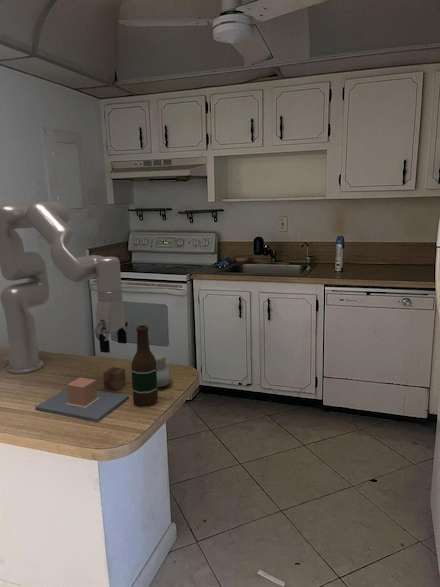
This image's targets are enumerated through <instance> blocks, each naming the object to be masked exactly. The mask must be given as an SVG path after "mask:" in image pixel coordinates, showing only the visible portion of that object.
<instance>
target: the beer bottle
mask: <svg viewBox="0 0 440 587" xmlns="http://www.w3.org/2000/svg"><path fill="white" fill-rule="evenodd" d="M135 331H136V333H137V334H136V351H135V354H134V356H133V358H132V362H131V386H132V400H133V401H132V402H133V404H134V405H136V406H138V407H140V408H141V407H144V408H145V407H151V406H153V405H155V404H157V402H158V388H157V369H156V360H155V357H154V355H153V354H154V353H152V352H151V348H150V342H149V341H150V340H149V326H147V325H138V326H136V329H135Z"/></svg>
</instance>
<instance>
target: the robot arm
mask: <svg viewBox="0 0 440 587" xmlns="http://www.w3.org/2000/svg"><path fill="white" fill-rule="evenodd" d="M69 219H70V212H69V210H68V208H67V207H66V205H64V204H63V203H61V202H59V201H37V202H33V203H7V204H2V205H0V273H1V275H2V277H3V279H5V280H6V281H11V282H12V281H21V280H26V279H27V281H25V282H20V283H14V284H11V285H8V286H6V287H4V288H3V289H2V290H1V293H0V303H1V307H2V309H3V310H2V311H3V312H4V317H5V324H6V331H7V341H8V349H9V350H8V351H9V353H7V354H6V356H5V357H4V358H3V359H4V361H6V362H8V364H7V366H6V371H7V372H8V373H11V374H26V373H32V372H35V371H37V370H40V369H41V368H43V367H44V361H43V360H42V359H39V352H38V350H39V349H38V342H37V341H38V340H37V330H36V321H35V318H34V316H33V314H32V313H31V311H30V310H29V309H31V308H34V307H39V306H41V305H44V304H46V303H47V302H48V301H49V299H50V285H49V277H48V272H47V269H48V268H47V264H46V261H45V259H44V258H43V256H42V255H41V254H40V253H38V252H36V251H25V246H24V241H23V238H22V237H21V236H20V234H19V233H18V232H17V229H33V228H34V229H35V231H36V232H38V233H39V234H40V236H42V238H43V239H44V240H45V241H46V242H47V243H48V244H49V245H50V256H51V260H52V263H53V265H54V266H55V267H56V269H57V270H58V271H59V272H60V274H62V275H63V276H64V277H65V278H66V279H67V280H68V281H71V282H74V283H81V282H84V281H89V280H94V279H95V281H96V290H97V301H98V302H97V303H96V313H95V318H96V319H95V320H96V326H95V328H94V330H93V332H94V333H95V337H96V338H97V341H99V349H100V350H99V352H100V353H106V354H108V353H111V352H110V349H111V348H110V340H109V337H110V334H111V333H114V332H116V333H117V334H116V335H117V343H118V344H124V345H125V344H127V343H128V341H127V340H128V338H127V337H128V336H127V331H128V328H127V327H128V325H129V324H128V322H129V316H128V315H126V312H125V305H124V301H123V289H122V276H121V274H122V273H121V263H120V262H121V261H120V259H119V258H118V257H117V256H103V255H97V254H91V255H84V256H83V255H82V256H78V257H75V256H74V255H73V254H72V253H71V252H70V251H69V250H68V249H67V247H66V246H67V245H68V244H69V243H70V242H71V240H72V238H73V237H74V231H73V229H72V227H70V226H69V225H68V224H67V223H68V222H69ZM104 334H105V335H104Z"/></svg>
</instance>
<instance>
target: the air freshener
mask: <svg viewBox="0 0 440 587" xmlns="http://www.w3.org/2000/svg"><path fill="white" fill-rule="evenodd" d="M152 354H153V355H154V357H155V360H156V369H157V389H158V388H162V387H165V386H167V385H169V384H170V383H171V376H170V375H171V374H170V373H171V372H170V369H171V368H170V367H168V366H167V365H166V356H165V354H163V353H152Z"/></svg>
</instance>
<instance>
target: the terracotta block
mask: <svg viewBox="0 0 440 587" xmlns="http://www.w3.org/2000/svg"><path fill="white" fill-rule="evenodd" d="M66 389H67V392H68V403H69V404H74V405H80V406H86V405H88V404H89V403H91V402H92V401H94V400H95V399H97V391H98V387H97V380H96V379H93V378H87V377H78V378H76V379H74V380H73V381H71V382H69V383H68V384H66Z"/></svg>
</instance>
